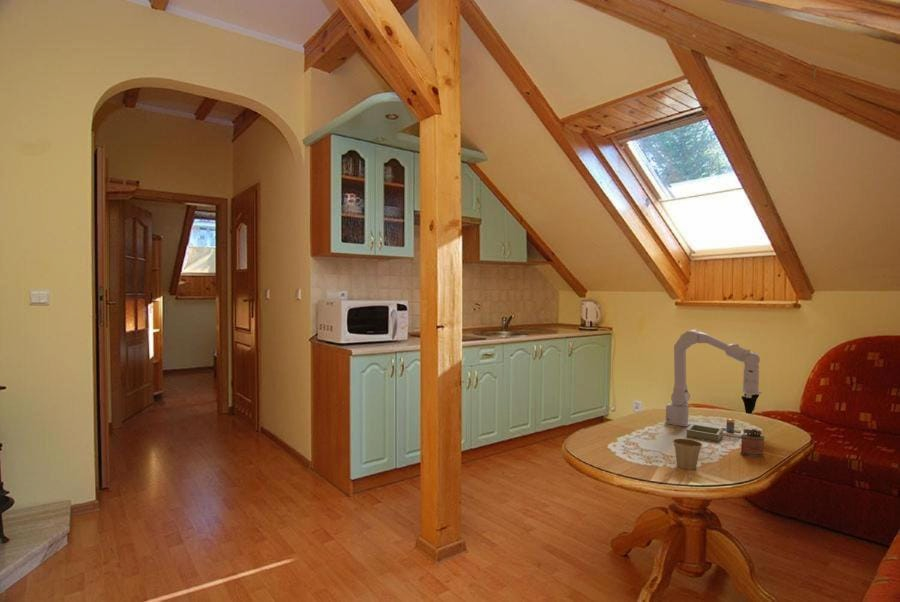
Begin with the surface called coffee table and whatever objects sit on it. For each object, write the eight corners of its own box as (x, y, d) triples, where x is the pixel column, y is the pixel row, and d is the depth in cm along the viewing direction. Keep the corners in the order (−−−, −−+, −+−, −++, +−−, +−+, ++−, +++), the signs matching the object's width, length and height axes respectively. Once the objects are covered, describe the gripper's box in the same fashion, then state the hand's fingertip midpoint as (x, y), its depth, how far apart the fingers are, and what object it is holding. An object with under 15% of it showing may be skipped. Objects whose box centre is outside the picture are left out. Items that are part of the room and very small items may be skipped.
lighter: (761, 454, 193) (762, 428, 193) (765, 457, 190) (766, 431, 190) (738, 453, 194) (739, 427, 194) (742, 456, 191) (743, 429, 191)
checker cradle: (715, 433, 222) (715, 431, 222) (719, 428, 230) (719, 426, 230) (741, 437, 216) (741, 435, 216) (744, 432, 224) (744, 430, 224)
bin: (686, 436, 216) (686, 429, 216) (692, 430, 225) (692, 424, 225) (718, 442, 209) (718, 434, 209) (722, 435, 218) (722, 428, 218)
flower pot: (694, 462, 182) (695, 438, 182) (706, 472, 173) (707, 446, 173) (667, 461, 183) (668, 437, 182) (678, 471, 173) (679, 445, 173)
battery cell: (725, 433, 222) (726, 419, 222) (726, 431, 225) (727, 418, 225) (733, 434, 221) (734, 420, 221) (734, 433, 223) (735, 419, 223)
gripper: (760, 384, 212) (758, 416, 212) (763, 379, 223) (762, 410, 224) (740, 381, 216) (739, 413, 216) (745, 377, 227) (743, 407, 228)
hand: (749, 411), depth 220 cm, fingers open, 7 cm apart
